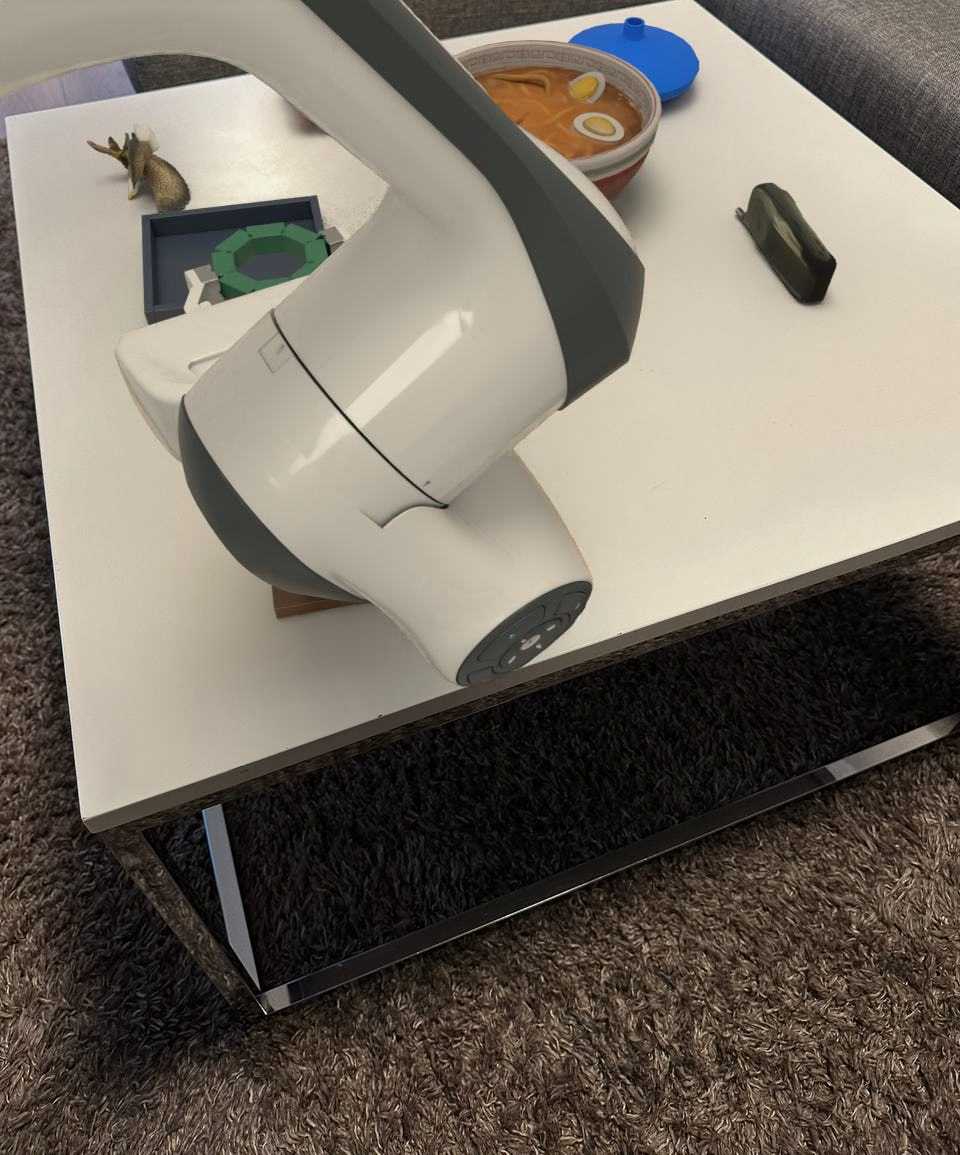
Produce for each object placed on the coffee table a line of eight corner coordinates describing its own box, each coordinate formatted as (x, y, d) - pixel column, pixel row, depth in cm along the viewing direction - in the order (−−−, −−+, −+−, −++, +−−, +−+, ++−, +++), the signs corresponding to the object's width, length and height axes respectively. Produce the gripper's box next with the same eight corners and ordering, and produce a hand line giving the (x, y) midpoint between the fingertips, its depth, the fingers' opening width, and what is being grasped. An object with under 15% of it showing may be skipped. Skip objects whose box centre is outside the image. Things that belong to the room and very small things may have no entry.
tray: (151, 335, 84) (143, 312, 82) (148, 237, 92) (141, 214, 90) (340, 310, 86) (337, 287, 84) (320, 217, 94) (316, 194, 92)
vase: (606, 135, 104) (614, 69, 98) (532, 71, 112) (536, 7, 106) (722, 101, 109) (736, 36, 103) (643, 42, 117) (652, -21, 111)
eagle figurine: (80, 183, 95) (122, 206, 90) (90, 107, 93) (135, 126, 88) (150, 199, 101) (194, 221, 96) (162, 128, 98) (208, 147, 93)
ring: (220, 317, 53) (215, 299, 52) (213, 248, 56) (209, 230, 55) (336, 302, 53) (334, 284, 52) (322, 235, 57) (319, 217, 56)
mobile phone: (846, 259, 84) (768, 164, 92) (815, 265, 83) (740, 168, 91) (828, 305, 88) (755, 209, 96) (798, 310, 87) (727, 214, 95)
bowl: (669, 158, 102) (686, 62, 93) (612, 285, 89) (627, 186, 81) (467, 117, 106) (467, 22, 98) (385, 232, 93) (378, 133, 85)
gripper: (550, 292, 48) (424, 159, 55) (155, 430, 42) (71, 261, 49) (541, 386, 53) (428, 253, 60) (188, 521, 47) (108, 356, 54)
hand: (265, 257), depth 55 cm, fingers closed on ring, 7 cm apart
